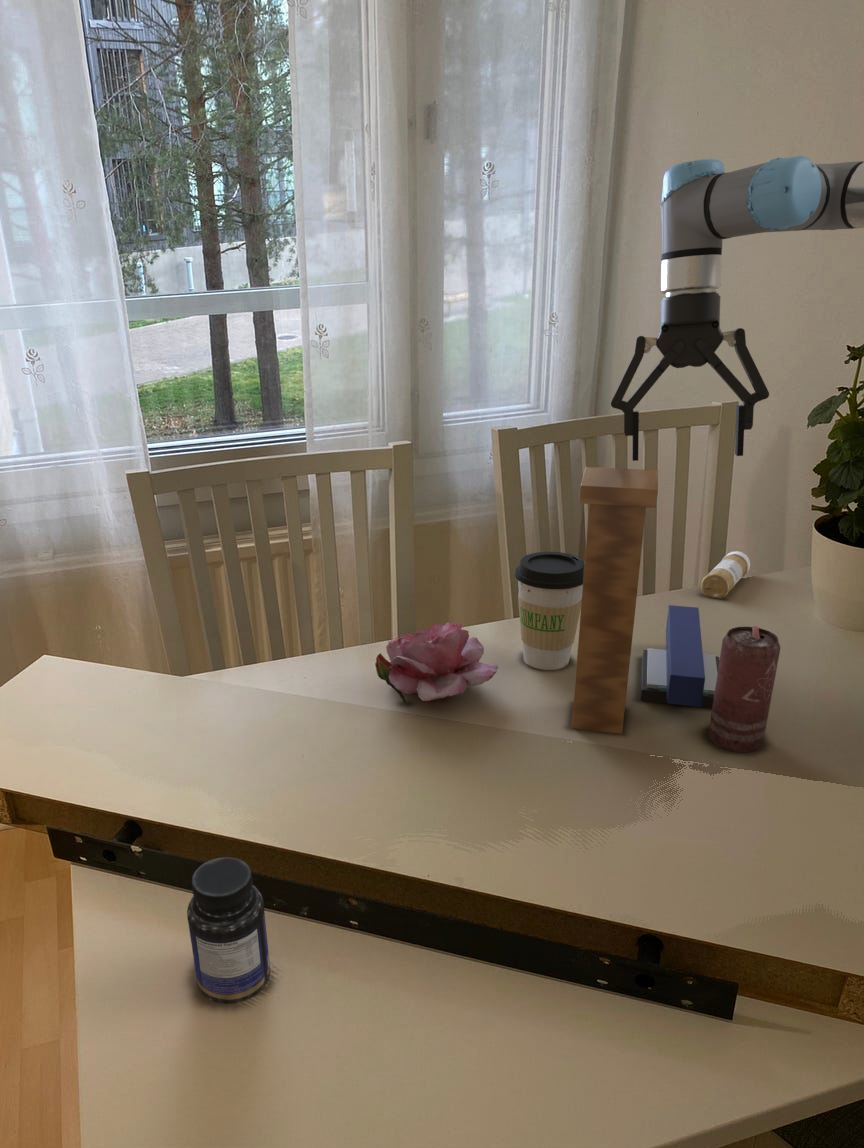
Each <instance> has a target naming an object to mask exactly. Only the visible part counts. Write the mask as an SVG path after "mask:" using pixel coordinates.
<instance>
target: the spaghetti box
mask: <svg viewBox="0 0 864 1148" xmlns="http://www.w3.org/2000/svg"><path fill="white" fill-rule="evenodd" d="M701 630H702V629H701V619H700V609H699V607H697V606H696V607H695V606H683V605H673V604H671V605H668V610H667V618H666V627H665V650H666V674H667V703H666V704H668V705H669V704H670V705H677V706H685V707H697V708H702V707H701V704H702V697H703V690H704V683H705V671H704V661H703V653H704V652H703V641H702V631H701Z"/></svg>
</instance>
